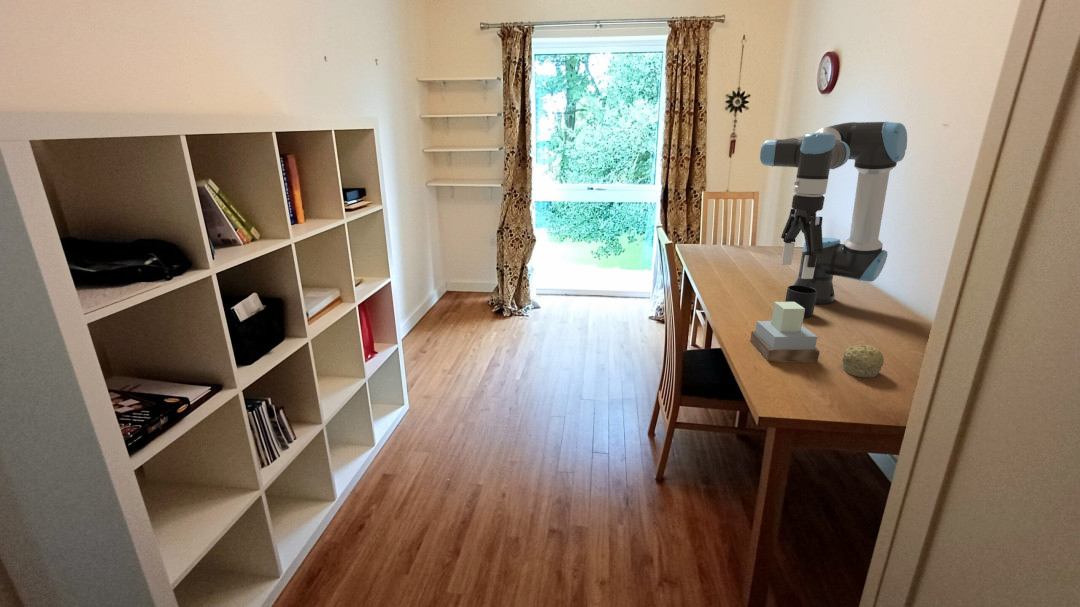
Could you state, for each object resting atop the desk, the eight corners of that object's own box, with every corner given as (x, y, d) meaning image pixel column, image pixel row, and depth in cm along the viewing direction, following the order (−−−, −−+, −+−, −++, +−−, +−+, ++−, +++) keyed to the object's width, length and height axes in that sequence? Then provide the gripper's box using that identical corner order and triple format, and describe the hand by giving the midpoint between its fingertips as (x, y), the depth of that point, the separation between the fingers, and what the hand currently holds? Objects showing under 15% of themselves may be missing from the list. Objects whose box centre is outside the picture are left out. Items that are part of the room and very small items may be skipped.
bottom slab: (795, 343, 157) (798, 331, 156) (817, 364, 144) (819, 351, 143) (749, 343, 158) (751, 331, 157) (766, 363, 145) (769, 350, 143)
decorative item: (841, 375, 145) (827, 351, 141) (872, 355, 143) (858, 330, 140) (864, 392, 136) (850, 366, 132) (897, 371, 134) (883, 344, 131)
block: (790, 323, 151) (794, 301, 149) (800, 331, 146) (805, 308, 143) (770, 324, 151) (774, 301, 149) (780, 331, 146) (784, 308, 143)
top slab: (794, 332, 155) (796, 320, 154) (814, 349, 144) (817, 336, 143) (755, 333, 155) (756, 321, 154) (772, 349, 144) (774, 336, 142)
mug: (810, 308, 186) (815, 284, 183) (814, 319, 175) (818, 294, 172) (782, 305, 189) (786, 281, 186) (783, 316, 178) (788, 291, 175)
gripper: (776, 188, 147) (765, 259, 154) (816, 201, 124) (802, 284, 131) (802, 188, 147) (790, 260, 154) (848, 201, 124) (831, 284, 131)
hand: (795, 271), depth 143 cm, fingers open, 13 cm apart
